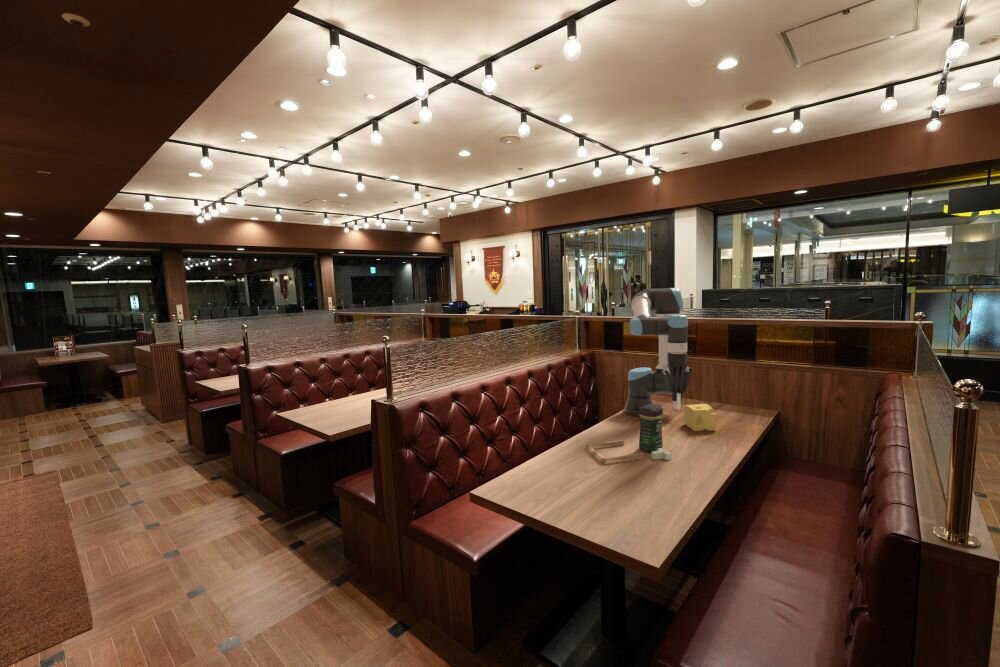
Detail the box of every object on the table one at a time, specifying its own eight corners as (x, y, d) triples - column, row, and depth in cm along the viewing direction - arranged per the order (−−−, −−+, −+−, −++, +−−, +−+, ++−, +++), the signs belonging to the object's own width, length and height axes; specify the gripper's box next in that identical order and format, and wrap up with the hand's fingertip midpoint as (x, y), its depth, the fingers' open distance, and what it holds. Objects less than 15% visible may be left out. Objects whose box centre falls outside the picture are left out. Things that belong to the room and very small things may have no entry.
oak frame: (586, 449, 181) (585, 444, 181) (622, 444, 185) (622, 439, 185) (603, 464, 166) (603, 459, 165) (643, 458, 169) (643, 453, 169)
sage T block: (648, 455, 172) (648, 449, 172) (661, 453, 174) (661, 448, 173) (657, 461, 166) (657, 455, 166) (671, 459, 168) (671, 453, 167)
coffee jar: (653, 454, 173) (653, 409, 171) (636, 449, 179) (636, 405, 177) (666, 447, 179) (666, 404, 177) (648, 442, 185) (648, 400, 183)
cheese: (716, 431, 196) (716, 409, 195) (692, 431, 196) (692, 410, 195) (706, 423, 207) (706, 403, 205) (683, 424, 207) (683, 404, 206)
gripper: (668, 354, 172) (668, 412, 175) (697, 352, 175) (696, 409, 178) (657, 352, 179) (657, 407, 182) (685, 349, 182) (684, 404, 185)
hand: (676, 408), depth 180 cm, fingers closed
